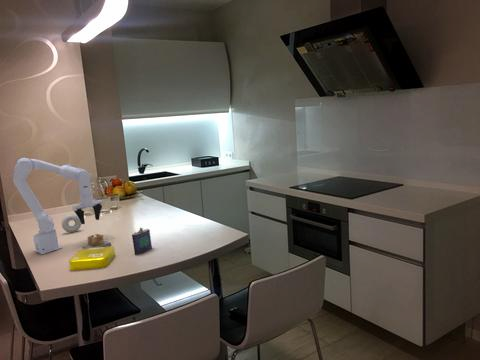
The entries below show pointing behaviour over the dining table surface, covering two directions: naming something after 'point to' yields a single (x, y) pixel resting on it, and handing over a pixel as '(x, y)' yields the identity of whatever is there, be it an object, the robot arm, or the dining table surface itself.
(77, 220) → the donut
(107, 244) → the rod stand
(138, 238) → the flask
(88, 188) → the robot arm
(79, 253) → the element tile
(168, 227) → the dining table surface
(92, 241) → the wooden square ring
